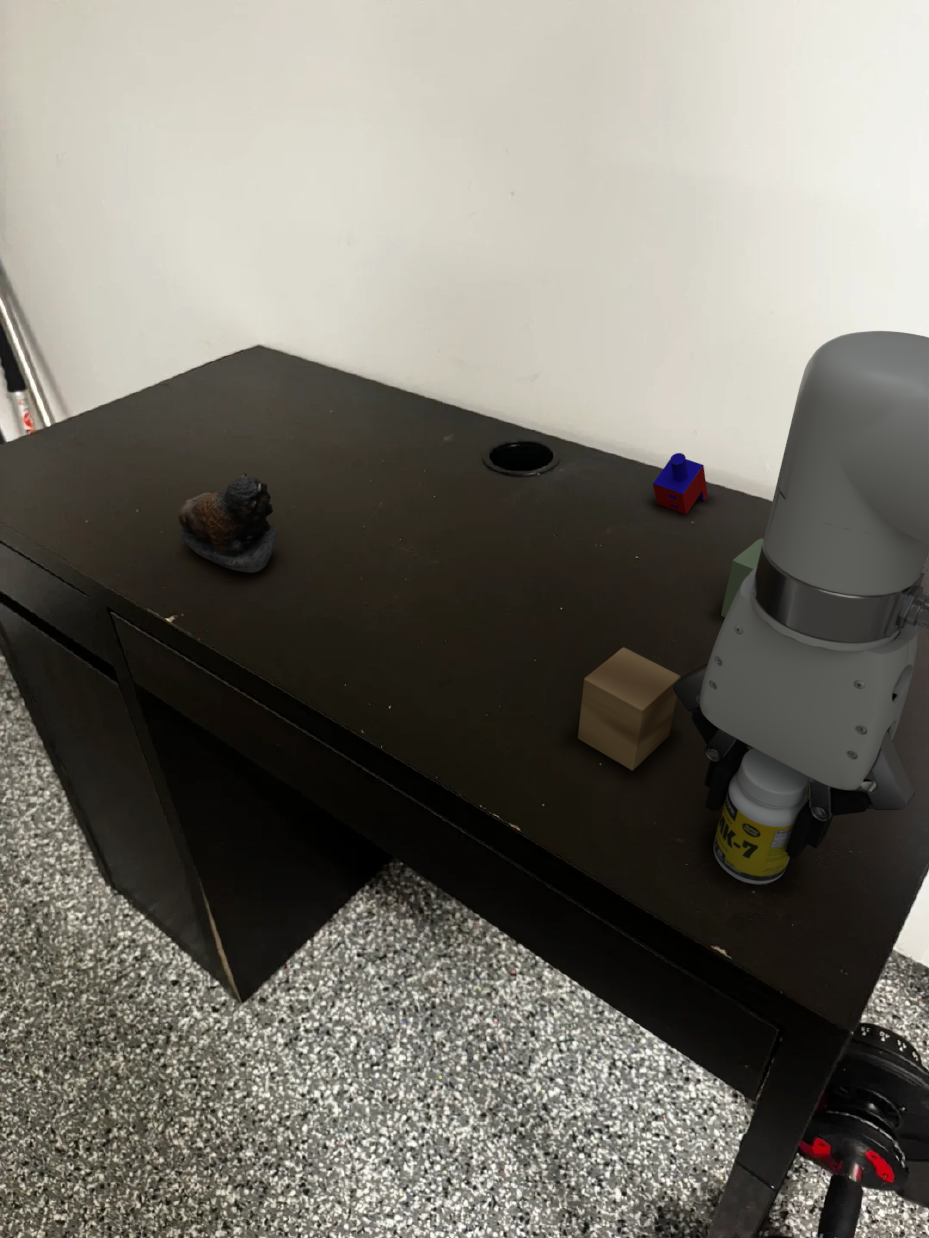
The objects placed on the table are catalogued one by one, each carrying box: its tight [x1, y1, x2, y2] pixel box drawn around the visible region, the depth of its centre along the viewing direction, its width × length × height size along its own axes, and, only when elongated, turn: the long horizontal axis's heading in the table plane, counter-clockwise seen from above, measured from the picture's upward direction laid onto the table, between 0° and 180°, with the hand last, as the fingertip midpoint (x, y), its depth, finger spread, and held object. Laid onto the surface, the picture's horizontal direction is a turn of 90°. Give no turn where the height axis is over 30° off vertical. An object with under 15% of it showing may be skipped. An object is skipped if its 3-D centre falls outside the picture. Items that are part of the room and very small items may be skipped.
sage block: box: [720, 537, 764, 618], centre depth 78 cm, size 5×5×6 cm
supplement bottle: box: [713, 747, 809, 885], centre depth 56 cm, size 5×5×8 cm
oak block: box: [577, 646, 681, 771], centre depth 66 cm, size 5×5×6 cm
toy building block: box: [652, 452, 708, 515], centre depth 94 cm, size 4×4×8 cm
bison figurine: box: [177, 472, 278, 574], centre depth 85 cm, size 12×7×10 cm, turn 50°
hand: (760, 818), depth 56 cm, fingers closed on supplement bottle, 4 cm apart
